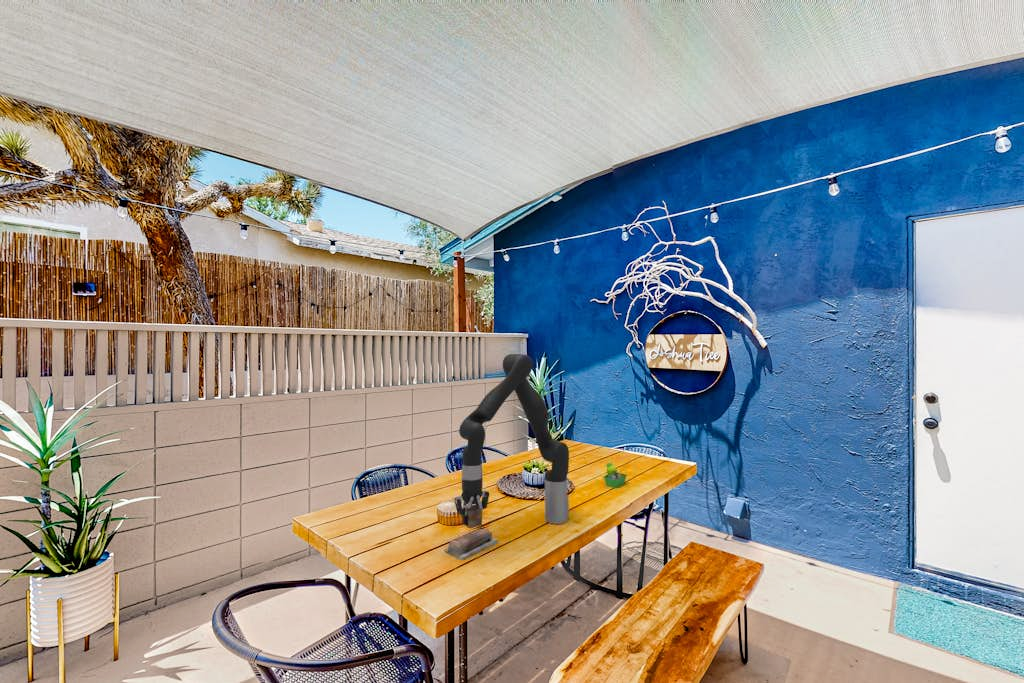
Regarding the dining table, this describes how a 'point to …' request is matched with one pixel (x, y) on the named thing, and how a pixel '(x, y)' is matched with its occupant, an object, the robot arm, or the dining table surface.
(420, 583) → the dining table surface
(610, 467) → the potted cactus
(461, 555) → the packaged product
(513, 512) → the dining table surface
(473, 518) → the walnut block
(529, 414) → the robot arm
